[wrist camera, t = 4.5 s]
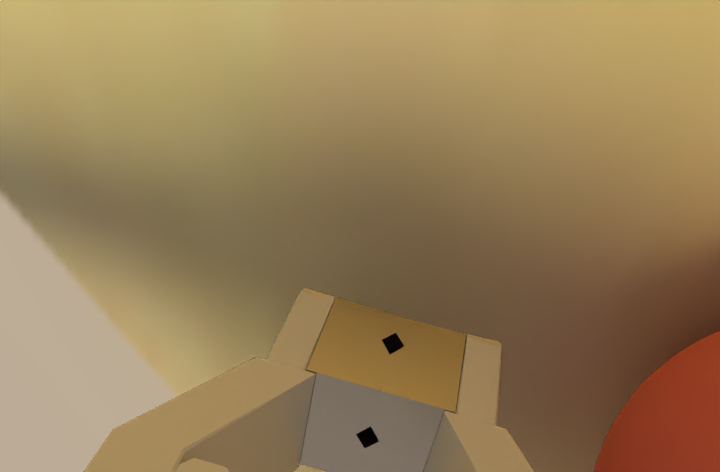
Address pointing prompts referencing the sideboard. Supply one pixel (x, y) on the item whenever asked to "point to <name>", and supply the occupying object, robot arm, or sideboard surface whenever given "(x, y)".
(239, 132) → the sideboard surface
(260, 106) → the sideboard surface
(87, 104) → the sideboard surface
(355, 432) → the robot arm
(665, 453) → the ball
